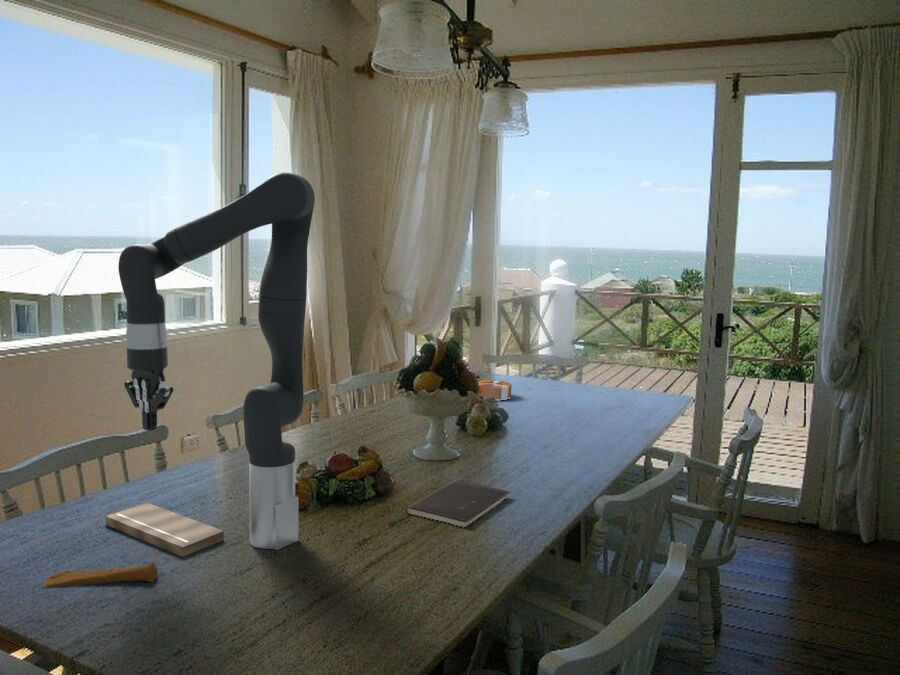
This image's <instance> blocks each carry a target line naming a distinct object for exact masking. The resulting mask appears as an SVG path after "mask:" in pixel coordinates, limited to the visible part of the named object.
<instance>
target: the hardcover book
mask: <svg viewBox="0 0 900 675" xmlns="http://www.w3.org/2000/svg"><path fill="white" fill-rule="evenodd" d="M510 493H511V491H509V490H504V489H501V488H497V487H491V486H487V485H481V484H478V483H473V482H470V481H464V480H459V479H455V480H453V481H452V482H449V483H447V484H446V485H444V486H442V487H440V488H439V489H437V490H435V491H434V492H431V493H430V494H428V495H426V496H425V497H422V498H421V499H419V500H417V501H415V502H414V503H412V504H409V505H408V506H406V508H405V513H406V514H410V515H414V516H417V515H418V516H417V517H421V516H422V517H421V518H424V517H426V518H425V519H428V518H430V519H429V520H432V519H434V520H433V521H436V520H439V521H438V522H440V521H444V522H447V523H446V524H448V523H451V524H450V525H452V524H454V525H453V526H456V525H458V526H457V527H460V526H462V527H461V528H464V527H466V526H467V525H469V524H470V523H471V524H473V523H474V522H476V521H477V520H478V518H479V517H480V516H482V515H483V514H484V513H486V512H487V511H489V510H490V509H491V508H493V507H494V506H495V505H497V504H498V503H500V502H501V501H502V500H504V499H505V498H506V497H508V498H509V495H510ZM500 504H501V503H500ZM497 506H498V505H497ZM493 509H494V508H493ZM490 511H491V510H490ZM490 511H489V512H490ZM487 513H488V512H487ZM487 513H486V514H487ZM484 515H485V514H484ZM484 515H483V516H484ZM483 516H482V517H483ZM480 518H481V517H480ZM480 518H479V519H480ZM476 519H477V520H476ZM475 520H476V521H475ZM473 521H474V522H473ZM444 522H443V523H444ZM472 522H473V523H472ZM471 524H470V525H471ZM470 525H469V526H470ZM467 527H468V526H467ZM467 527H466V528H467Z"/></svg>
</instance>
